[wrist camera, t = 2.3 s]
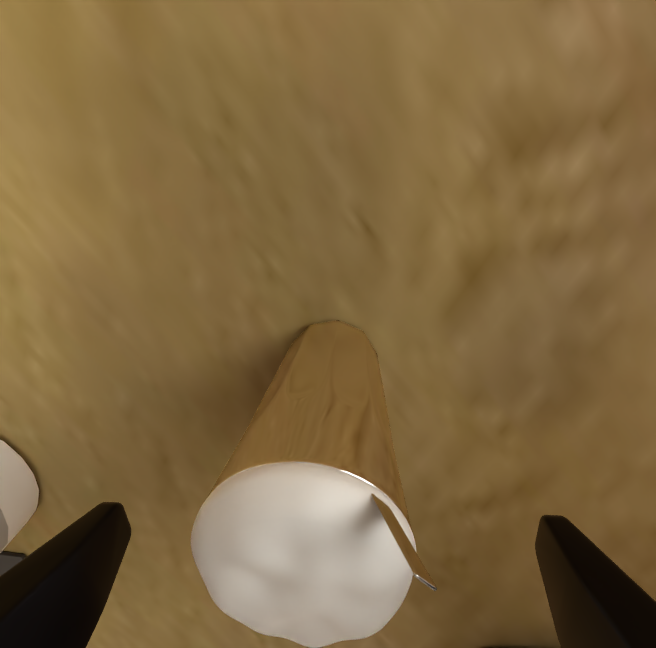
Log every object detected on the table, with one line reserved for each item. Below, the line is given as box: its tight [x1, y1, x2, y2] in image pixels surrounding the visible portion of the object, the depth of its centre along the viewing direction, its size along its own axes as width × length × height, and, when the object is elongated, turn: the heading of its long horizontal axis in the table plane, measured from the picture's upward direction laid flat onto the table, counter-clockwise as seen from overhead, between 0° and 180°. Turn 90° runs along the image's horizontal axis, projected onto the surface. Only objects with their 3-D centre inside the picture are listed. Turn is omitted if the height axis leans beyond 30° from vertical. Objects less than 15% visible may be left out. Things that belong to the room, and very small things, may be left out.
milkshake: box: [191, 320, 437, 648], centre depth 11 cm, size 5×5×10 cm
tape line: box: [0, 551, 26, 576], centre depth 26 cm, size 16×2×1 cm, turn 177°
